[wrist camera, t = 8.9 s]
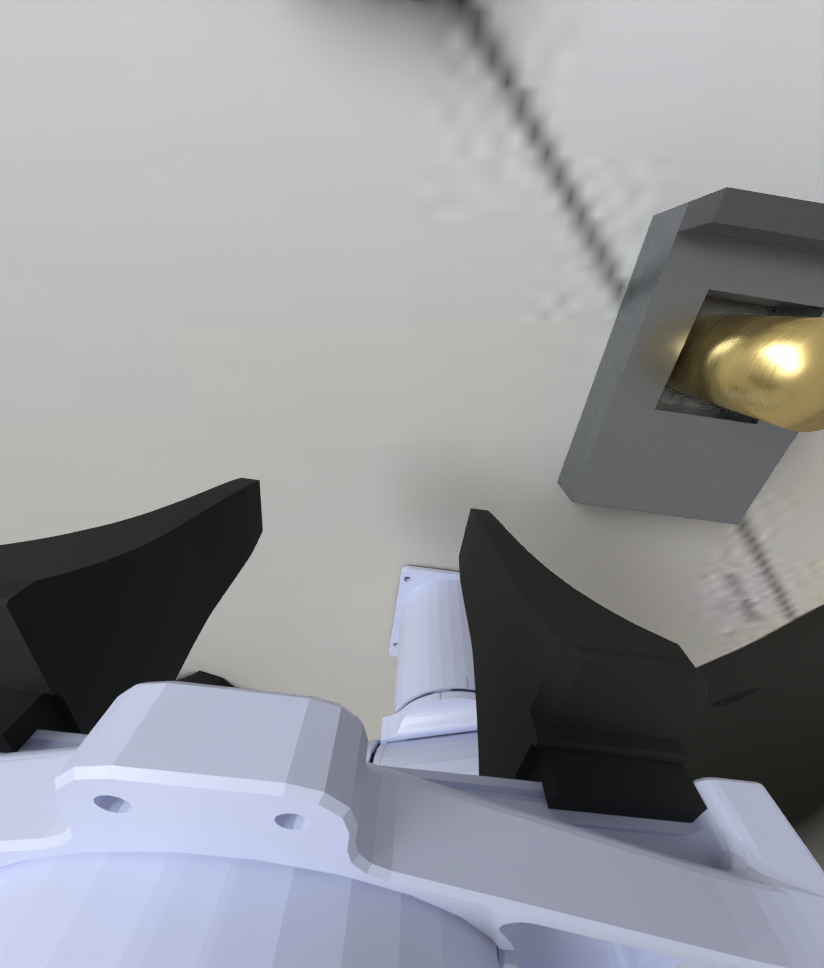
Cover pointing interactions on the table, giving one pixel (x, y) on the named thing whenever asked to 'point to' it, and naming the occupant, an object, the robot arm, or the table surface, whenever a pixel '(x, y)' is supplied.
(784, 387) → the brass cylinder
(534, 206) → the table surface
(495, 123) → the table surface
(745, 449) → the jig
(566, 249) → the table surface
